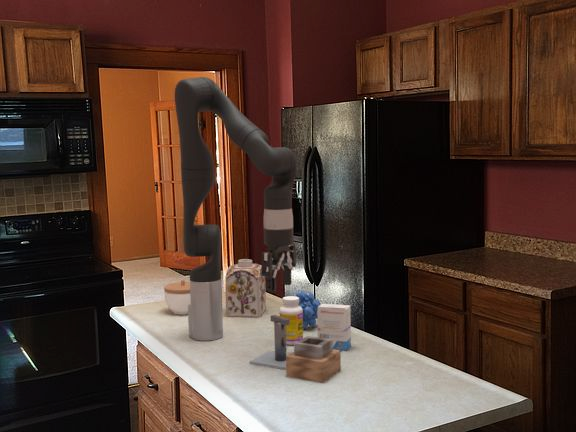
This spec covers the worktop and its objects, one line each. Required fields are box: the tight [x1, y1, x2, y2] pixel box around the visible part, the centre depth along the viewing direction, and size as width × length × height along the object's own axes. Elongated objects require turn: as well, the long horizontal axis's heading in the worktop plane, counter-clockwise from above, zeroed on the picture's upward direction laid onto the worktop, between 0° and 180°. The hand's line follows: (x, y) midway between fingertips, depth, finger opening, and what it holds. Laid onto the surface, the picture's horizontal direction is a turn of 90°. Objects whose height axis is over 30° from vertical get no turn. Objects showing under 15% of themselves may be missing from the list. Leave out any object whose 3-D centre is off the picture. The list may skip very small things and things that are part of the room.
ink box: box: [317, 303, 352, 352], centre depth 183 cm, size 9×5×12 cm, turn 71°
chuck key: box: [270, 314, 290, 361], centre depth 171 cm, size 3×6×11 cm, turn 40°
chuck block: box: [285, 335, 342, 383], centre depth 163 cm, size 10×10×8 cm
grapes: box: [295, 290, 321, 330], centre depth 200 cm, size 12×7×12 cm, turn 117°
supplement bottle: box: [278, 295, 304, 346], centre depth 188 cm, size 7×7×13 cm
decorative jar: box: [224, 258, 267, 318], centre depth 221 cm, size 12×12×18 cm
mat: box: [249, 350, 290, 371], centre depth 172 cm, size 12×10×1 cm
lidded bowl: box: [163, 279, 191, 316], centre depth 224 cm, size 13×13×11 cm
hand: (279, 288), depth 170 cm, fingers open, 8 cm apart
